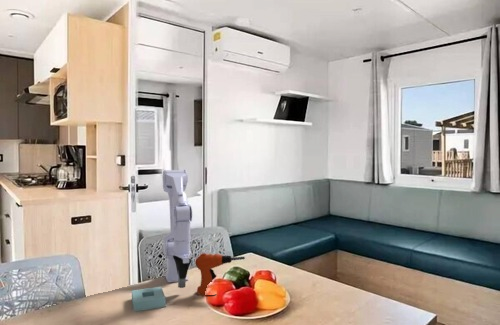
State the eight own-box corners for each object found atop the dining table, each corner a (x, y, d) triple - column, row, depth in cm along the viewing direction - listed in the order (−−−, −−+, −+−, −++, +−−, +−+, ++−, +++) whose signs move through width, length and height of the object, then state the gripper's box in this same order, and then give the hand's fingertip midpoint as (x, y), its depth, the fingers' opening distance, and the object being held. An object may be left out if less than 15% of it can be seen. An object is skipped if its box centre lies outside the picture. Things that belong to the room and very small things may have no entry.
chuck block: (131, 298, 122) (131, 290, 122) (161, 294, 126) (161, 286, 126) (133, 311, 113) (133, 302, 113) (165, 306, 117) (165, 297, 117)
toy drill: (248, 293, 125) (243, 251, 124) (196, 297, 126) (191, 256, 126) (249, 288, 130) (244, 247, 129) (199, 292, 131) (194, 252, 131)
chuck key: (177, 285, 128) (177, 258, 127) (184, 284, 129) (184, 257, 128) (178, 288, 125) (179, 260, 125) (186, 287, 126) (186, 259, 126)
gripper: (167, 235, 131) (167, 271, 132) (174, 246, 118) (174, 285, 119) (186, 233, 134) (186, 268, 135) (195, 244, 121) (194, 283, 121)
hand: (181, 276), depth 127 cm, fingers closed on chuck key, 3 cm apart
